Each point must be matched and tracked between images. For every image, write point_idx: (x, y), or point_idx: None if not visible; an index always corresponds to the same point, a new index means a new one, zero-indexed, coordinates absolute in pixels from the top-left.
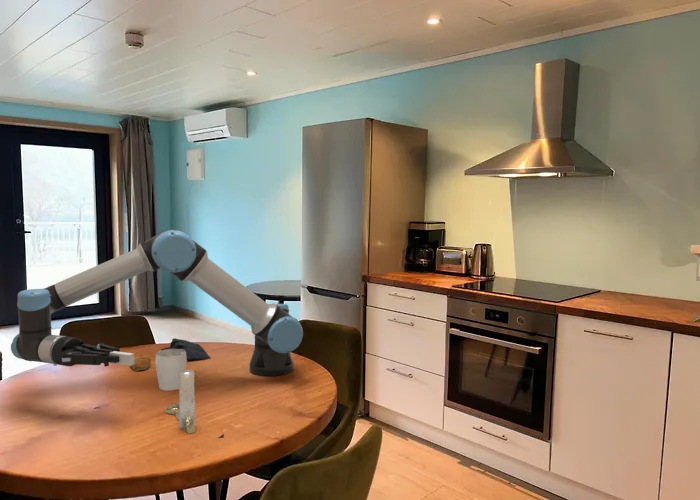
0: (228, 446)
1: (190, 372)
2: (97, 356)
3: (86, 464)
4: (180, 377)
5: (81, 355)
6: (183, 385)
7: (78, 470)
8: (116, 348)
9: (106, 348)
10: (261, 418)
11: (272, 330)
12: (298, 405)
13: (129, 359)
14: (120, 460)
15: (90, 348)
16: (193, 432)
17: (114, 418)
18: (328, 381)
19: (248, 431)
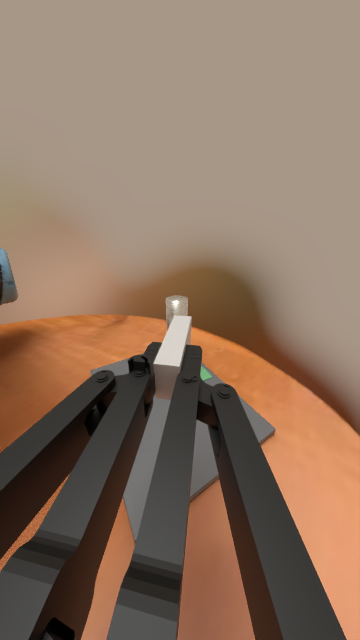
0: (194, 339)
1: (178, 296)
2: (233, 391)
3: (317, 437)
4: (186, 306)
5: (285, 504)
6: (187, 314)
7: (336, 436)
8: (104, 377)
9: (30, 471)
10: (129, 336)
11: (9, 267)
12: (97, 325)
13: (190, 328)
14: (274, 402)
15: (41, 634)
16: None
17: (133, 551)
18: (30, 320)
19: (160, 336)
